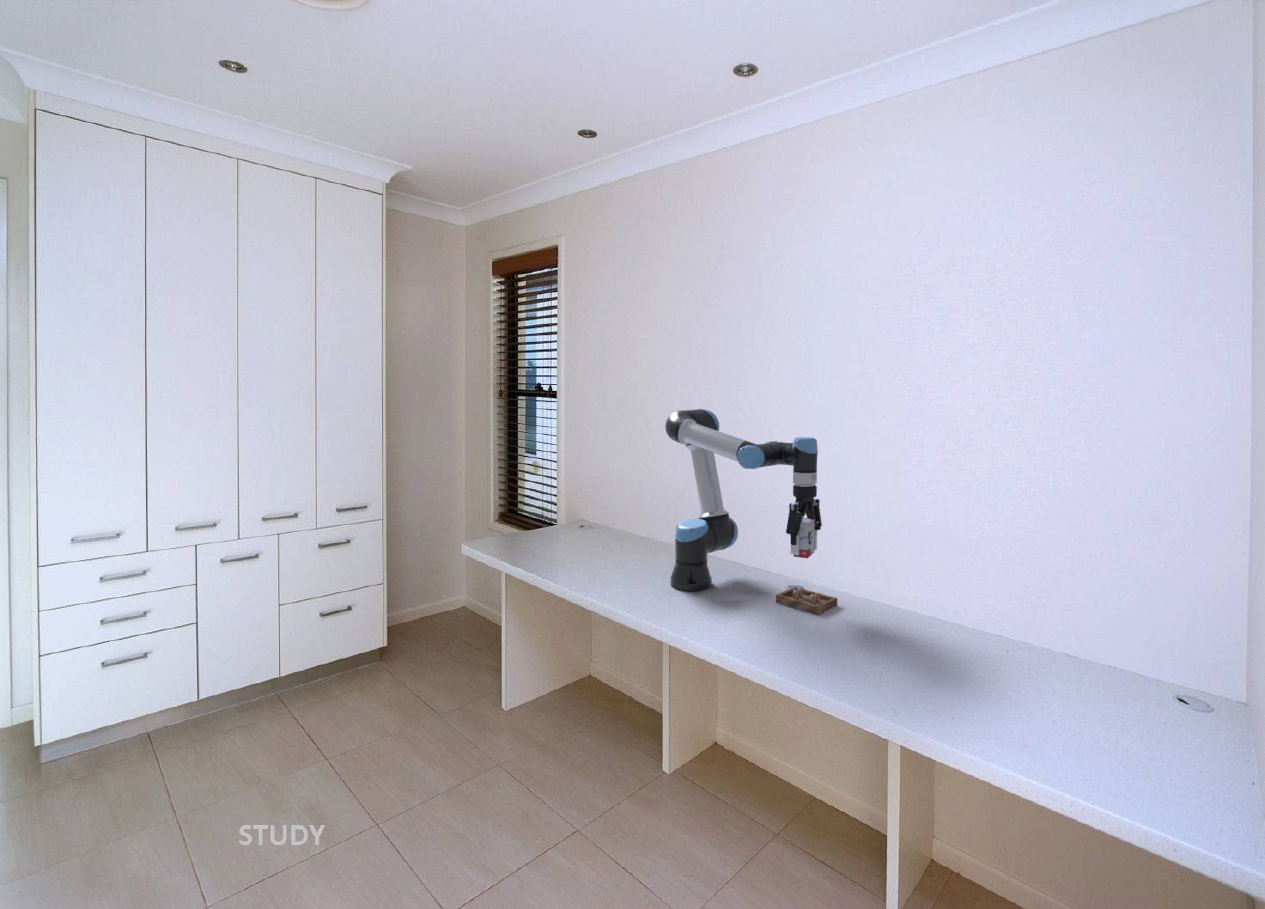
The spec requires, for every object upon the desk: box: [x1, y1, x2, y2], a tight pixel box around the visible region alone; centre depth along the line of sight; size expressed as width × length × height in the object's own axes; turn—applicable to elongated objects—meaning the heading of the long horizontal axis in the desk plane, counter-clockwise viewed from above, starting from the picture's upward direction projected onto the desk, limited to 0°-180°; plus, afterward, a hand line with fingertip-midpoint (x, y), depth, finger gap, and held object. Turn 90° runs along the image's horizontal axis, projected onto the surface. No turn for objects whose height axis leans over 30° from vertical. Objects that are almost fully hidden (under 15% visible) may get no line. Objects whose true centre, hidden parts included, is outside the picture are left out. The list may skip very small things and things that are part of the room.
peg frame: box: [775, 586, 838, 616], centre depth 207 cm, size 16×12×4 cm
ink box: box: [793, 516, 816, 559], centre depth 204 cm, size 9×5×12 cm, turn 148°
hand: (803, 551), depth 205 cm, fingers closed on ink box, 9 cm apart
